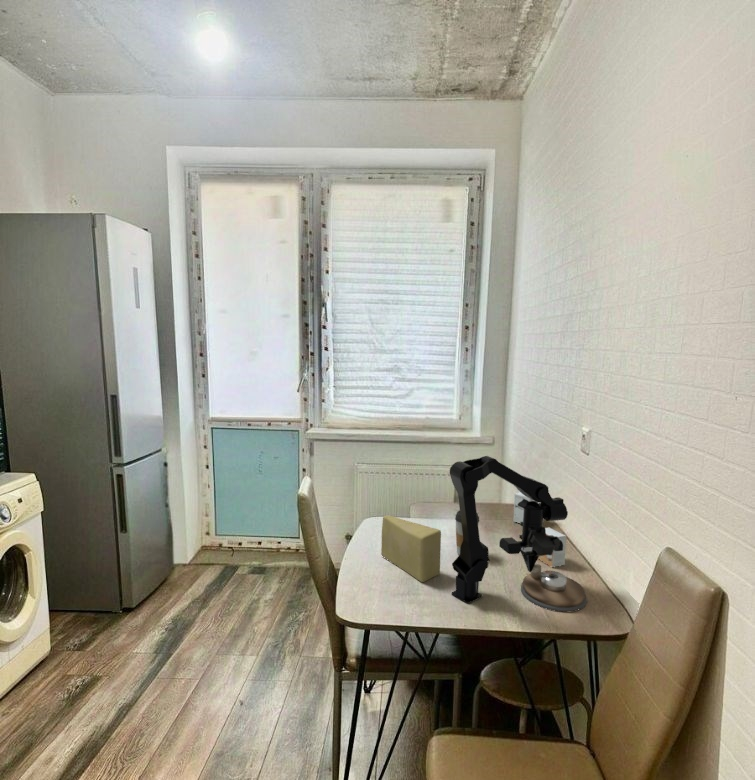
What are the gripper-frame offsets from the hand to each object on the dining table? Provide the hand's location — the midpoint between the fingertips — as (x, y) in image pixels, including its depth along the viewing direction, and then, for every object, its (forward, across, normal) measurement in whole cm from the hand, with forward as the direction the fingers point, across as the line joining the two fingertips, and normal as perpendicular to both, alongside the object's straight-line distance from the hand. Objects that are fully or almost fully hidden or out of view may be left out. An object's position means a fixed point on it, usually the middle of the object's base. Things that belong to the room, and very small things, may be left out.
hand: (529, 571), depth 136 cm
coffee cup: (+5, -9, +24) cm, 26 cm away
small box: (+4, +17, +13) cm, 21 cm away
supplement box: (+3, +29, +47) cm, 55 cm away
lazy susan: (+3, +4, -6) cm, 8 cm away
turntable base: (+4, +4, -6) cm, 9 cm away
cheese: (+6, -33, +20) cm, 39 cm away
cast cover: (+2, +4, -6) cm, 7 cm away
